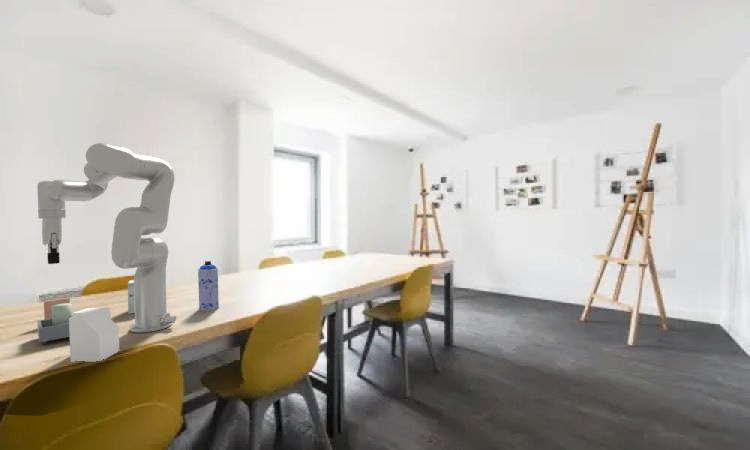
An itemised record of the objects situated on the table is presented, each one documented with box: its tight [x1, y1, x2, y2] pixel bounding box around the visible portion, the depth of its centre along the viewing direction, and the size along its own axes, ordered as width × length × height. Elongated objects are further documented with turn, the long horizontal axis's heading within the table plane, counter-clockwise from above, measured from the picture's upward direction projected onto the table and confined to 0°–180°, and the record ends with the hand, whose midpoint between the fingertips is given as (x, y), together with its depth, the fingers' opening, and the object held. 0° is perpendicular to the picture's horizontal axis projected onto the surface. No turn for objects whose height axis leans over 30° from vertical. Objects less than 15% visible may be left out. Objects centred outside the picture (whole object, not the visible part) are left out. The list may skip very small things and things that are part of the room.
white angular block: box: [69, 307, 120, 363], centre depth 102 cm, size 11×11×12 cm
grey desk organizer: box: [36, 297, 71, 345], centre depth 121 cm, size 27×12×9 cm, turn 45°
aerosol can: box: [197, 260, 220, 312], centre depth 149 cm, size 8×8×20 cm
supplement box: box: [127, 279, 135, 315], centre depth 147 cm, size 7×7×13 cm
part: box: [51, 302, 73, 326], centre depth 115 cm, size 5×5×8 cm
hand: (53, 263), depth 133 cm, fingers closed
